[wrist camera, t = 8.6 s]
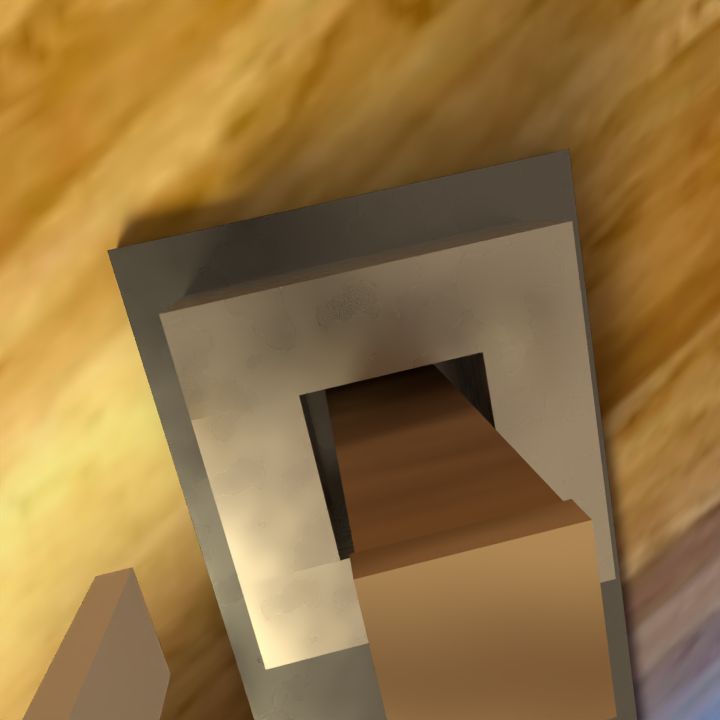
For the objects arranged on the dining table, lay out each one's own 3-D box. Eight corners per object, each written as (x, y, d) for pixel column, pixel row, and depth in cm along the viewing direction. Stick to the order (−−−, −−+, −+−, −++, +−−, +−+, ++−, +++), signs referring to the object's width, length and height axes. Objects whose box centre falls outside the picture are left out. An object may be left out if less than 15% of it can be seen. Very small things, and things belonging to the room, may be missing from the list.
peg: (320, 384, 22) (353, 579, 10) (433, 358, 22) (592, 520, 10) (345, 488, 23) (400, 774, 11) (452, 462, 23) (616, 717, 12)
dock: (115, 248, 21) (63, 259, 16) (557, 151, 22) (631, 134, 17) (302, 852, 28) (304, 984, 23) (632, 761, 29) (700, 870, 24)
